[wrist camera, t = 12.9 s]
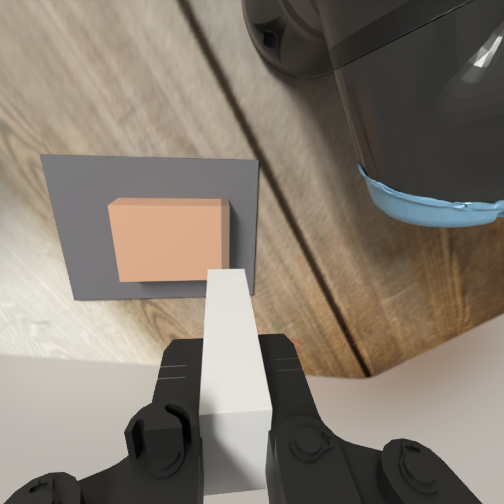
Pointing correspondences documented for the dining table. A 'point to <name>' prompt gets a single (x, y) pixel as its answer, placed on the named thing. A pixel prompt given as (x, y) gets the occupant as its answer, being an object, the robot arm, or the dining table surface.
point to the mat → (142, 186)
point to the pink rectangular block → (169, 238)
